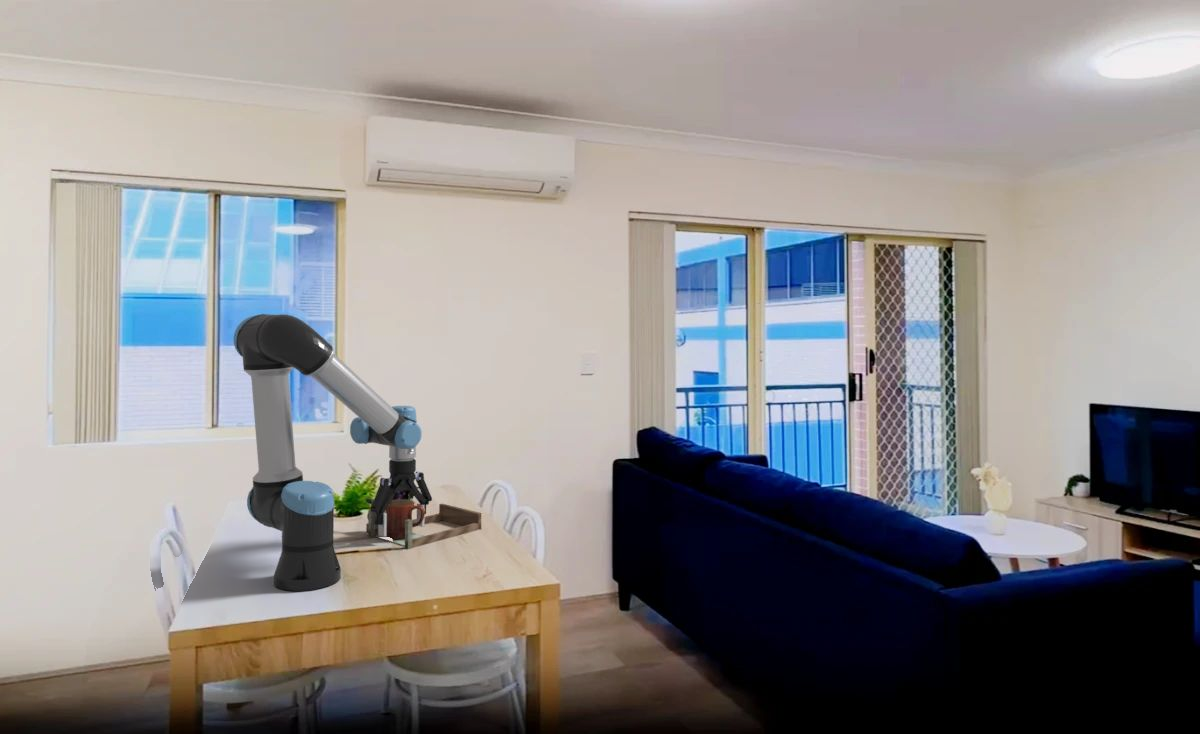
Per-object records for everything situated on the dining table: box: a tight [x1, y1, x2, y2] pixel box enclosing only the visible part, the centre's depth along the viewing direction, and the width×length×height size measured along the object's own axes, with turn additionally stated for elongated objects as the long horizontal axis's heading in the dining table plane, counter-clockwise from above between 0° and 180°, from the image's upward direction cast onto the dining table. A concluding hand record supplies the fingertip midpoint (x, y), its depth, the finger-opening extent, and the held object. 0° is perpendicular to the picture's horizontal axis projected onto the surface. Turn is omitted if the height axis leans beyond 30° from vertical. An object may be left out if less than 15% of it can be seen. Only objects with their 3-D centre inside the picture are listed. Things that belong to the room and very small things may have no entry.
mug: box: [385, 499, 426, 540], centre depth 214 cm, size 12×9×10 cm
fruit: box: [386, 481, 419, 501], centre depth 258 cm, size 10×11×15 cm
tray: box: [365, 497, 482, 550], centre depth 222 cm, size 28×25×10 cm
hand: (401, 530), depth 213 cm, fingers open, 13 cm apart
